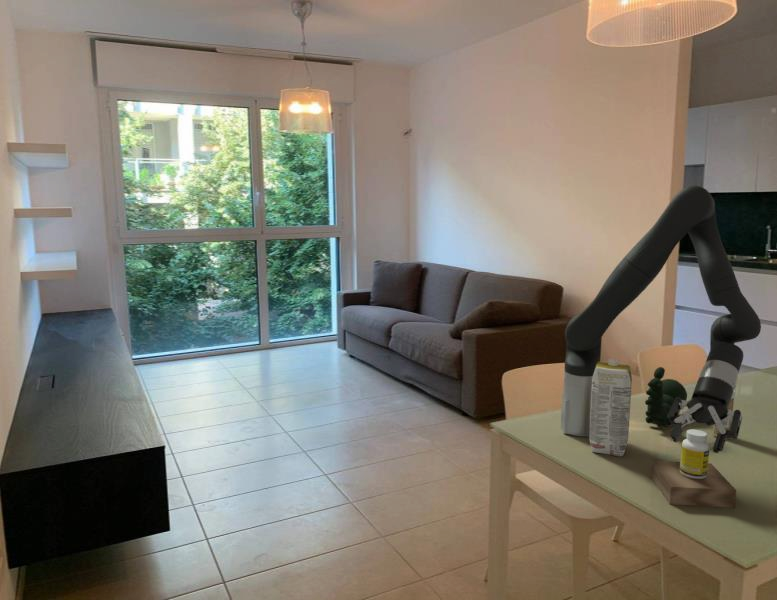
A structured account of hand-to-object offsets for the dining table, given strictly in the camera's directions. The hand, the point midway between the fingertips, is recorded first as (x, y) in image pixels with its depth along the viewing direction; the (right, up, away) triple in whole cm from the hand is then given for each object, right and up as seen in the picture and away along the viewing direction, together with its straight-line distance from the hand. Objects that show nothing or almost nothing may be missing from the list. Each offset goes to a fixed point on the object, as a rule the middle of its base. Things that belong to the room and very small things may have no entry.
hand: (694, 445), depth 130 cm
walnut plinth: (0, -11, +1) cm, 11 cm away
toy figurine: (+14, -4, +45) cm, 47 cm away
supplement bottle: (0, -7, +1) cm, 7 cm away
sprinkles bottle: (+24, -6, +32) cm, 41 cm away
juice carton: (-10, -7, +24) cm, 27 cm away
